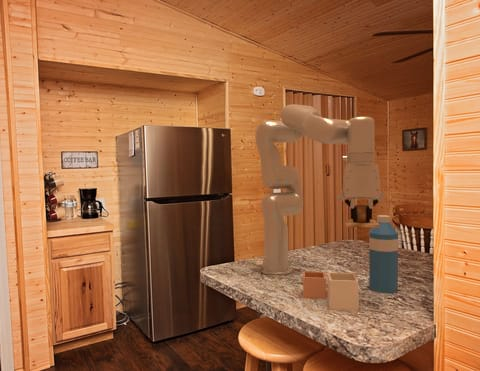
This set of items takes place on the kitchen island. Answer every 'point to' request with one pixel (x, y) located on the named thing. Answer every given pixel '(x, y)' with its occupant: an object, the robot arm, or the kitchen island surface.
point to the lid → (361, 218)
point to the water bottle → (383, 256)
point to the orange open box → (314, 285)
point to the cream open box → (343, 291)
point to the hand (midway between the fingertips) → (361, 220)
